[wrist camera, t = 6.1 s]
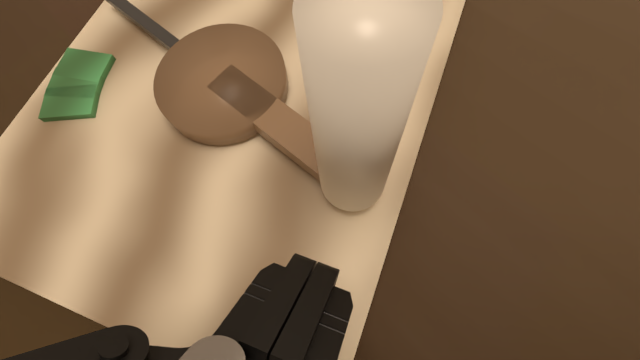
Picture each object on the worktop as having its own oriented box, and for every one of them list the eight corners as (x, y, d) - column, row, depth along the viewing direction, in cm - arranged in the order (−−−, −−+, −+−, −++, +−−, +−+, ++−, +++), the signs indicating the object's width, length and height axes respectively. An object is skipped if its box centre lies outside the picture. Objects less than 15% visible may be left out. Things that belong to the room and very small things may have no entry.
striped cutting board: (466, -8, 23) (476, -34, 21) (331, 420, 15) (330, 435, 13) (181, -69, 27) (170, -96, 25) (-47, 245, 19) (-87, 238, 17)
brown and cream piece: (419, 152, 17) (524, -62, 7) (329, 261, 16) (306, 174, 6) (155, -29, 23) (14, -289, 13) (69, 36, 21) (-167, -202, 12)
